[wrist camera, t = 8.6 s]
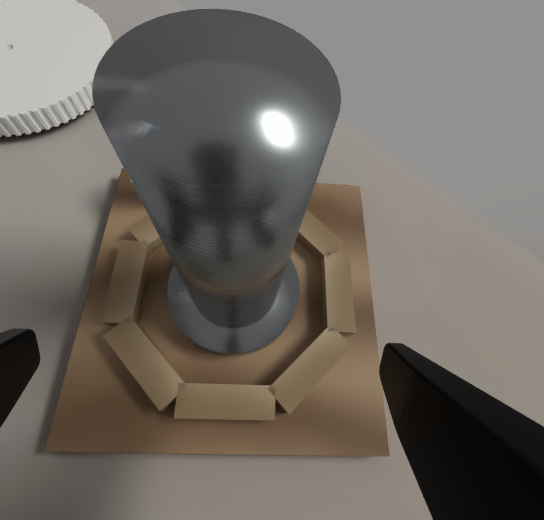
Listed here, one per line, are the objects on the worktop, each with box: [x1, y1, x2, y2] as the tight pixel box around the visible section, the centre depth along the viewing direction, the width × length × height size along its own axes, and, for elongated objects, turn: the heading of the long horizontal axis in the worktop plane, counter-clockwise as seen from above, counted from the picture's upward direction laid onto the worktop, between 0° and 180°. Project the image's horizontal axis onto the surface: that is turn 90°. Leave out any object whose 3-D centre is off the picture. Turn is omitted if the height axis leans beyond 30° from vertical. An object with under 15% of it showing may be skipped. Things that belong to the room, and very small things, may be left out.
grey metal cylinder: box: [92, 9, 341, 356], centre depth 12 cm, size 7×7×13 cm
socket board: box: [44, 168, 389, 456], centre depth 17 cm, size 16×16×4 cm
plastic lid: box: [0, 0, 114, 137], centre depth 24 cm, size 14×14×2 cm
